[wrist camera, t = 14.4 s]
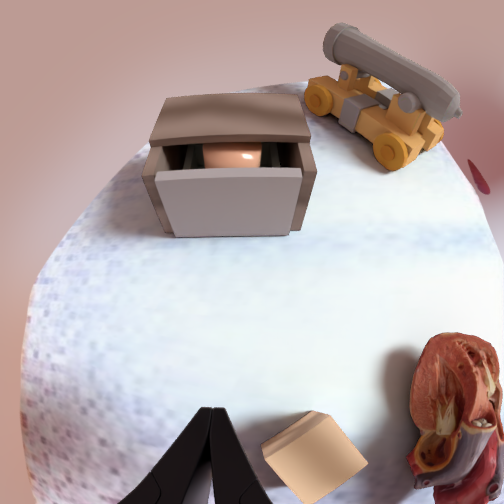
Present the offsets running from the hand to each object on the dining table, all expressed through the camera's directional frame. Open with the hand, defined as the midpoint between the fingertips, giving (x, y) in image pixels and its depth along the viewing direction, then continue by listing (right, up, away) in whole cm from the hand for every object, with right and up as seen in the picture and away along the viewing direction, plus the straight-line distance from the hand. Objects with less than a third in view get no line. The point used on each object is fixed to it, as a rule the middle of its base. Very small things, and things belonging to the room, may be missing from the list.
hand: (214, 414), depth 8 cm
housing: (-1, +12, +21) cm, 25 cm away
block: (+5, -10, +9) cm, 15 cm away
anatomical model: (+18, -11, +9) cm, 23 cm away
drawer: (-1, +12, +20) cm, 24 cm away
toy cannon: (+21, +26, +29) cm, 45 cm away
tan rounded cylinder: (-1, +12, +20) cm, 23 cm away
